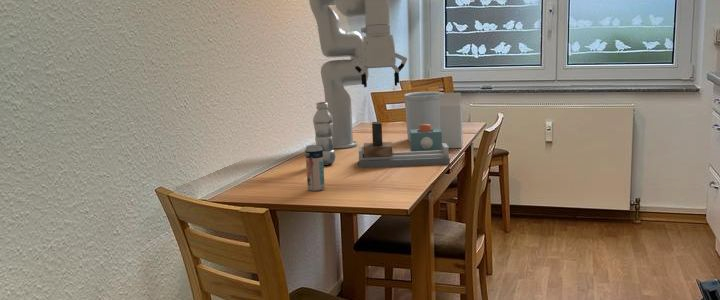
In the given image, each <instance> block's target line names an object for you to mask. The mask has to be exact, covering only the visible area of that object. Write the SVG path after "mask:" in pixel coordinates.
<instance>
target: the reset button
mask: <svg viewBox="0 0 720 300" xmlns="http://www.w3.org/2000/svg"><path fill="white" fill-rule="evenodd" d="M419 132H431V124H420V125H419Z"/></svg>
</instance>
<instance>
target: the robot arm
mask: <svg viewBox="0 0 720 300" xmlns="http://www.w3.org/2000/svg"><path fill="white" fill-rule="evenodd" d="M308 2H309V6H310V9H311V12H312V15H313V16H314V19H315V20H316V25H317V31H318V38H319V44H320V49H321V53H322V54H323V56H324V57H326V58H347V57H349V58H350V59H349V58H348V59H335V60H334V59H333V60H328V61H325V62H324V63H323V64H322V65H321V68H320V76H321V77H320V78H321V80H322V86H323V93H324V102H328V108H327V109H328V111H329V112H330V114H331V115H332V117H333V127H332V141H333V148H334V149H347V148H348V149H349V148H354V147H357V146H358V141H356V140H354V134H353V133H354V132H353V118H352V117H353V112H352V98H351V96H350V94H349V92H348V91H347V90H346V88H345V87H347V86H357V85H359V86H360V85H363V88H367V86H368V84H367V81H368V80H369V69H378V68H379V69H381V68H392V69H393V71H394V72H393V77H394V78H393V79H394V86H396V87H397V86H398V84H399V83H400V72H401V71H402V70H403V68H404V67H405V65H406V63H407V61H408V58H407V57H406V56H405V55H402V54H399V53H397V52H396V48H395V40H394V36H393V34H391V29H390V28H391V27H390V23H391V22H390V6H389V0H308ZM330 6H335V8H336V9H337V10H338V11H339V13H340V14H341V15H342V16H345V17H348V18H349V17H350V18H351V17H352V18H354V17H364V21H365V26H364V27H363V28H360V31H361V33H363V34H365V36H362V34H361V33H360V32H359V31H356V30H343V29H342V25H341V20H340V17H339V15H338V14H337V12H336V11H335V10H333V8H331V7H330ZM396 59H398V60H401V63H400V64H399V66H397V65H396V61H397V60H396ZM314 139H315V142H316V135H315V138H314Z"/></svg>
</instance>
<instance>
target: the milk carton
mask: <svg viewBox="0 0 720 300" xmlns="http://www.w3.org/2000/svg"><path fill="white" fill-rule="evenodd" d="M462 101H463V100H462V93H461V92H445V93H444V92H443V93H440V130H441V132H442V143H446V144H447V145H448V147H449V149H461V148H462V147H463V144H464V143H463V142H464V141H463V136H464V135H463V106H462V105H463V103H462Z"/></svg>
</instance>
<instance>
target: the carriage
mask: <svg viewBox="0 0 720 300" xmlns="http://www.w3.org/2000/svg"><path fill="white" fill-rule="evenodd" d="M382 125H383V124H382V121H372V122H371V130H372V131H371V133H372V135H371V136H372V142H364V143H363V145H362V147H363V154H364V157H379V156H393V151H394V150H393V142H392V141H383V128H382V127H383V126H382Z"/></svg>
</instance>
